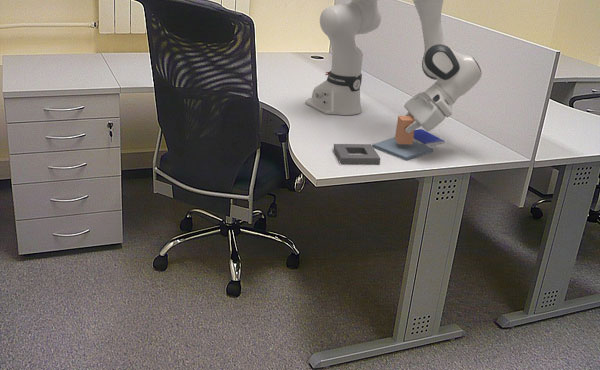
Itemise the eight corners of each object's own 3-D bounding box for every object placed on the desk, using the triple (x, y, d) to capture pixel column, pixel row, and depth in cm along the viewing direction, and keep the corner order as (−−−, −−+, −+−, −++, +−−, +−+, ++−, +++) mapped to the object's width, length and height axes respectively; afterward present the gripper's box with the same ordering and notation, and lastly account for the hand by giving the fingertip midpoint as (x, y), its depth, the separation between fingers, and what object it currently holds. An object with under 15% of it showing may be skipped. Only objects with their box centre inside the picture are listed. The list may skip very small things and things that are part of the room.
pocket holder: (340, 164, 195) (341, 158, 194) (333, 149, 206) (333, 143, 205) (379, 164, 197) (380, 158, 196) (370, 150, 208) (370, 144, 207)
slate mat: (372, 146, 210) (372, 144, 210) (399, 138, 219) (399, 135, 219) (406, 160, 201) (406, 157, 201) (433, 151, 210) (433, 148, 210)
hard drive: (445, 140, 218) (423, 128, 228) (425, 142, 214) (403, 130, 224) (444, 144, 218) (422, 132, 228) (425, 147, 215) (403, 135, 225)
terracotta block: (398, 144, 207) (402, 120, 204) (395, 139, 211) (398, 115, 208) (412, 144, 208) (415, 120, 204) (408, 139, 212) (411, 115, 208)
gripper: (421, 83, 213) (388, 111, 215) (442, 101, 194) (406, 132, 197) (432, 96, 215) (400, 124, 218) (454, 116, 197) (418, 146, 199)
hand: (403, 128), depth 207 cm, fingers closed on terracotta block, 4 cm apart
